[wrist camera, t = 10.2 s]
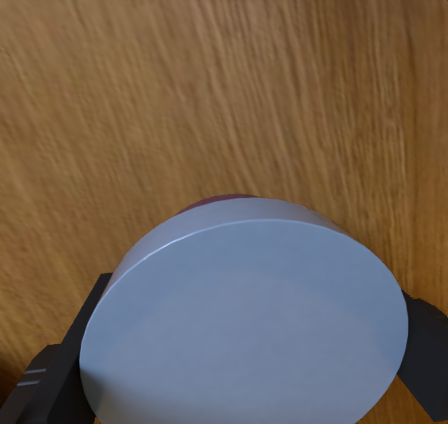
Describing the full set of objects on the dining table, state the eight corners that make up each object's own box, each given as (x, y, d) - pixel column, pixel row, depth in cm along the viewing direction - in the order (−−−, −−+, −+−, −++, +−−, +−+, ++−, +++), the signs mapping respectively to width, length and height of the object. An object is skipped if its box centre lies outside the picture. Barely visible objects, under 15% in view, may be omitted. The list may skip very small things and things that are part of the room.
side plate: (393, 184, 9) (443, 202, 7) (355, 399, 13) (381, 446, 11) (66, 212, 8) (29, 240, 7) (129, 433, 12) (117, 490, 10)
